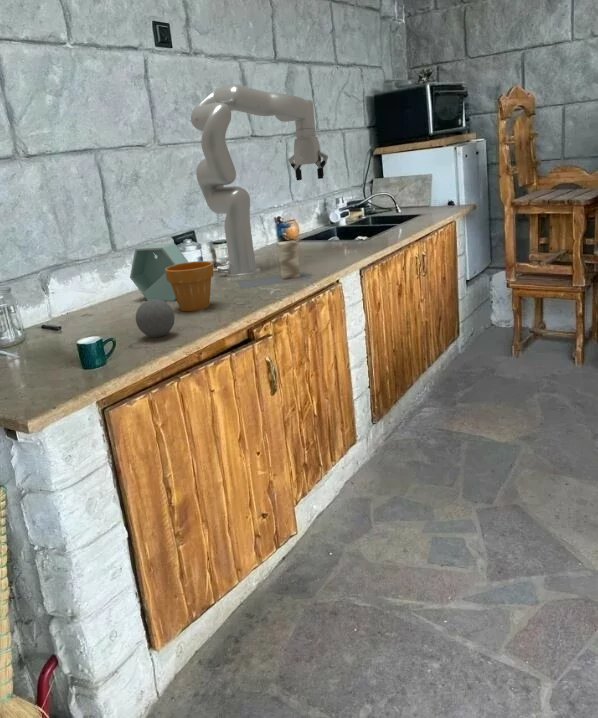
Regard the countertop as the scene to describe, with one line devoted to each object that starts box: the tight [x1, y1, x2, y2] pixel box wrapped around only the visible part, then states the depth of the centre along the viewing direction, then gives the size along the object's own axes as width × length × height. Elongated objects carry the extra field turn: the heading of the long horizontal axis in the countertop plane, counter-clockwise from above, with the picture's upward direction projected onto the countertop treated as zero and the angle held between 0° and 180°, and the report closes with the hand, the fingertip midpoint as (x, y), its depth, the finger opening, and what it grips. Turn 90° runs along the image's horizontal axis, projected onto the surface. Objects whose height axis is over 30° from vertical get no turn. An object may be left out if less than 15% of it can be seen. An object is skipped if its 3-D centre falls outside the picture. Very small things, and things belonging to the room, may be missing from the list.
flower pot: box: [165, 260, 215, 312], centre depth 208 cm, size 14×14×13 cm
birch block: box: [276, 240, 301, 280], centre depth 235 cm, size 6×6×12 cm
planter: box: [129, 242, 189, 302], centre depth 225 cm, size 17×8×21 cm
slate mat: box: [236, 271, 312, 289], centre depth 236 cm, size 24×14×1 cm, turn 101°
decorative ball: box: [135, 299, 176, 338], centre depth 180 cm, size 10×10×10 cm
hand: (309, 179), depth 271 cm, fingers open, 9 cm apart
